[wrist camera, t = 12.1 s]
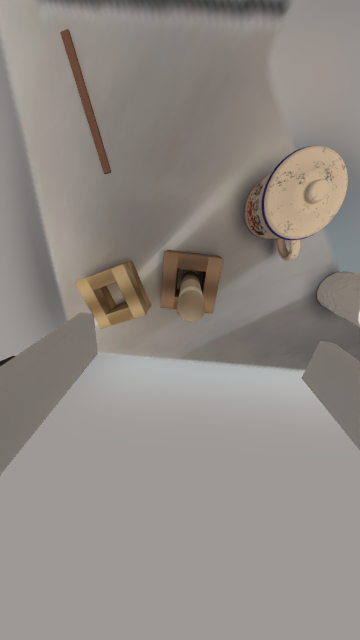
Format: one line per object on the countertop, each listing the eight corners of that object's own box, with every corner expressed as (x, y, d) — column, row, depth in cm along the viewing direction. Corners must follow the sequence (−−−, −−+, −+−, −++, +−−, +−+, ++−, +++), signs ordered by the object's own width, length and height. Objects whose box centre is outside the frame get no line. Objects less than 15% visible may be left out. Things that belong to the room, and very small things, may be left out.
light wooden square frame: (89, 276, 34) (74, 282, 30) (132, 260, 33) (122, 264, 28) (111, 318, 38) (100, 328, 33) (151, 305, 36) (145, 314, 31)
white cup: (319, 317, 35) (364, 343, 26) (307, 283, 33) (352, 299, 24) (363, 296, 33) (429, 317, 24) (354, 259, 31) (423, 266, 22)
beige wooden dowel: (183, 269, 33) (178, 292, 18) (199, 271, 33) (207, 296, 18) (181, 285, 34) (175, 319, 20) (197, 287, 34) (203, 322, 20)
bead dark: (167, 250, 32) (164, 251, 27) (218, 255, 32) (223, 258, 27) (164, 298, 35) (160, 307, 31) (209, 304, 35) (212, 313, 31)
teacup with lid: (239, 183, 27) (271, 148, 17) (302, 164, 26) (380, 112, 16) (247, 263, 32) (276, 275, 21) (301, 250, 31) (360, 255, 20)
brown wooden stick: (61, 34, 22) (60, 32, 22) (69, 31, 22) (67, 28, 22) (105, 173, 28) (104, 173, 27) (111, 172, 28) (110, 171, 27)
